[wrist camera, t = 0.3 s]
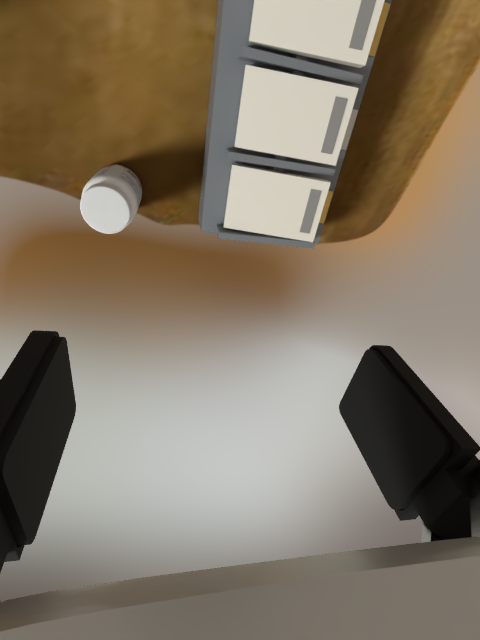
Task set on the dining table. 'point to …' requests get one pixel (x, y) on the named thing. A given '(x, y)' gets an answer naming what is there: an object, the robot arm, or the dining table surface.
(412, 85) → the dining table surface
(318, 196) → the panel
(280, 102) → the panel
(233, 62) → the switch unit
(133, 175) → the pill bottle
